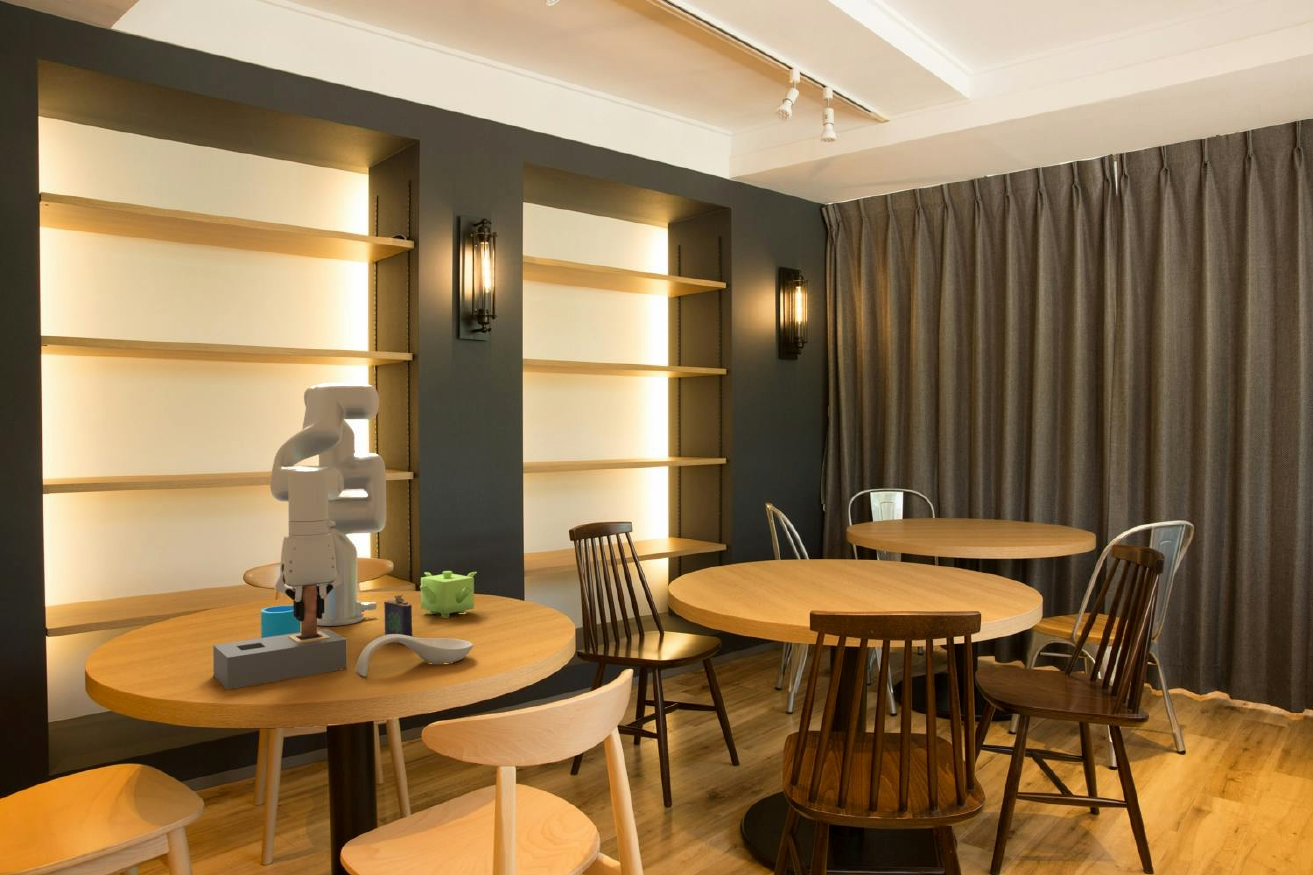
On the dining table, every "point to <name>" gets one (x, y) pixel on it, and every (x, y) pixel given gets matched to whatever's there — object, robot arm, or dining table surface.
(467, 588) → the green block with protrusions
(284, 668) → the bore block
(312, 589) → the pin
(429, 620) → the dining table surface
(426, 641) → the spoon rest
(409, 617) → the flask
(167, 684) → the dining table surface
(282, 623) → the mug
